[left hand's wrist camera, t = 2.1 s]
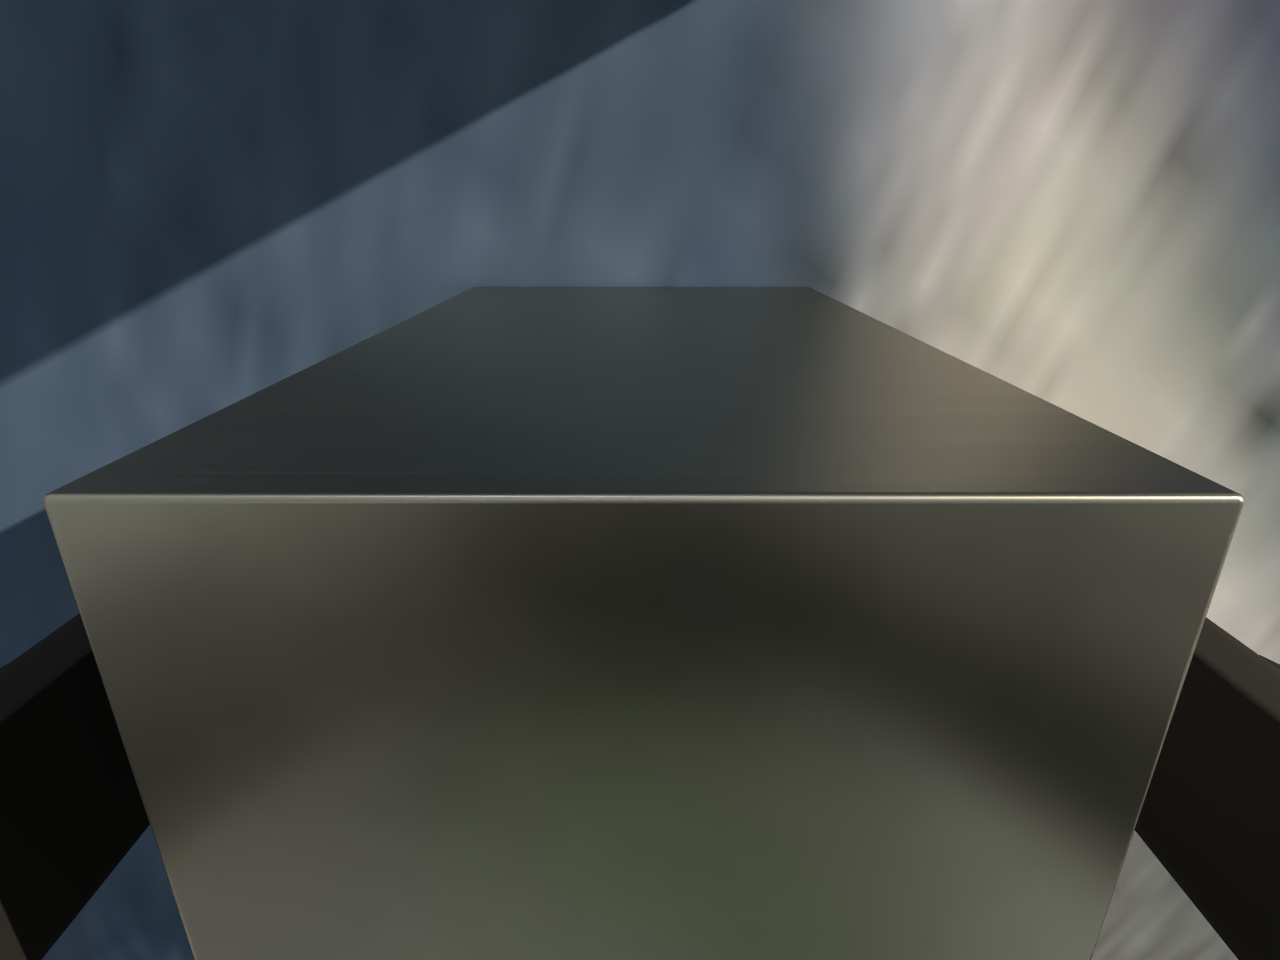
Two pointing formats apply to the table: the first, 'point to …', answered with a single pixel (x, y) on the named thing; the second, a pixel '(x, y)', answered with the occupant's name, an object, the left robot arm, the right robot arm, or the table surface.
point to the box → (643, 640)
